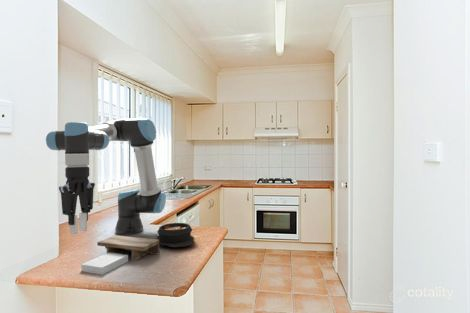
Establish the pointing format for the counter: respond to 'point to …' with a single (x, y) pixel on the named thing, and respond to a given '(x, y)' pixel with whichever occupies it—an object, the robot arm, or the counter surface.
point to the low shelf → (130, 245)
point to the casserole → (175, 235)
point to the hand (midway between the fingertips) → (78, 232)
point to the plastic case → (104, 263)
